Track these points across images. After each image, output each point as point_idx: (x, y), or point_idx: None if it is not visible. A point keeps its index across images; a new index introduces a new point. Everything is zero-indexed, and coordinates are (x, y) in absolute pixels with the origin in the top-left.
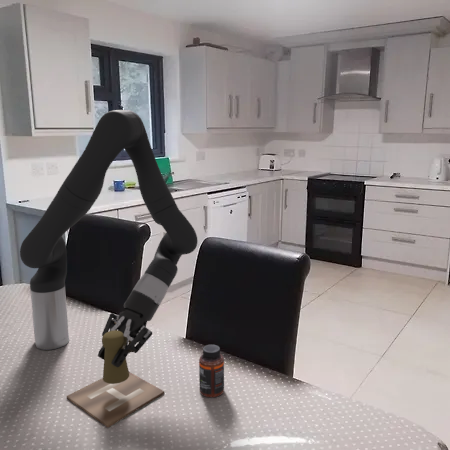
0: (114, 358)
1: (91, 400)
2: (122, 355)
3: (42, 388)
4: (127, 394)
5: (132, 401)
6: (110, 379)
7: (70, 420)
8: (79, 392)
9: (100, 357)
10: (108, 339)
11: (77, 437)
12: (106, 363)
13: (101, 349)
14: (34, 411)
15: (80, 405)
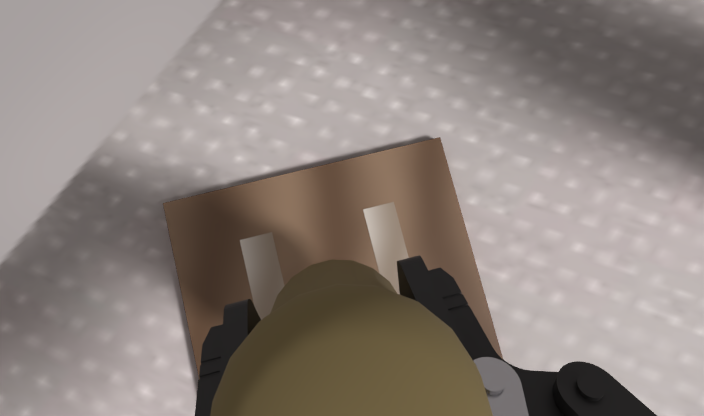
0: (239, 332)
1: (352, 207)
2: (200, 404)
3: (555, 85)
4: None
5: None
6: (290, 282)
7: (294, 110)
8: (434, 186)
9: (398, 268)
10: (268, 345)
11: (187, 100)
12: (318, 282)
13: (431, 291)
14: (421, 25)
15: (346, 161)
